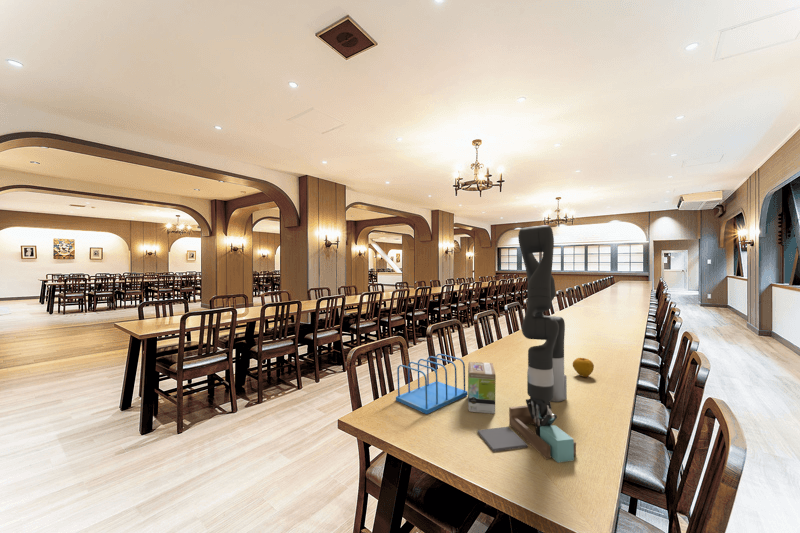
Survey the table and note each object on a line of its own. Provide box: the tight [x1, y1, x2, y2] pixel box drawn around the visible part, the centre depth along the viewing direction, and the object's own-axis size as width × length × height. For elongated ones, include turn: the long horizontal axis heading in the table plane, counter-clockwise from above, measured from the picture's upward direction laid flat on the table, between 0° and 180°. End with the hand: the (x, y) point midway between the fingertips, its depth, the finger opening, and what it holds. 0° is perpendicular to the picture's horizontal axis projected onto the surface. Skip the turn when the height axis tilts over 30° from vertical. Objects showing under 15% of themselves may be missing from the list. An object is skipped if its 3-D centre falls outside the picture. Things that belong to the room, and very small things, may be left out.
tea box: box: [467, 361, 497, 414], centre depth 127 cm, size 15×10×15 cm
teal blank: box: [540, 424, 575, 463], centre depth 94 cm, size 5×8×6 cm, turn 10°
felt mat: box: [477, 426, 528, 452], centre depth 101 cm, size 11×11×1 cm
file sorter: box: [395, 353, 468, 415], centre depth 133 cm, size 25×17×15 cm
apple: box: [572, 357, 595, 378], centre depth 158 cm, size 9×9×9 cm
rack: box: [508, 404, 577, 460], centre depth 102 cm, size 9×20×6 cm, turn 11°
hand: (540, 436), depth 101 cm, fingers closed
